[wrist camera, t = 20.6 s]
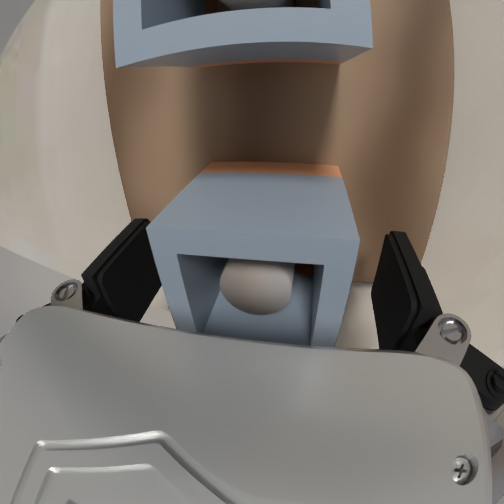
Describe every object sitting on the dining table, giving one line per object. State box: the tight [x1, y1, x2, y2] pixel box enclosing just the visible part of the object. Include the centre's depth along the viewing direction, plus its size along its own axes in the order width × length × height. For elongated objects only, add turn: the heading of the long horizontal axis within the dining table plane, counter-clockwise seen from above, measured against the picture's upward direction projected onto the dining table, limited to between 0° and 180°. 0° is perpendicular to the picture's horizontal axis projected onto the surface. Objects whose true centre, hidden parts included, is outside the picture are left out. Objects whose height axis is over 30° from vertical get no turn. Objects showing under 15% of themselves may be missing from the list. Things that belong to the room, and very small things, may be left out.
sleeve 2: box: [146, 162, 360, 347], centre depth 11 cm, size 6×6×6 cm
